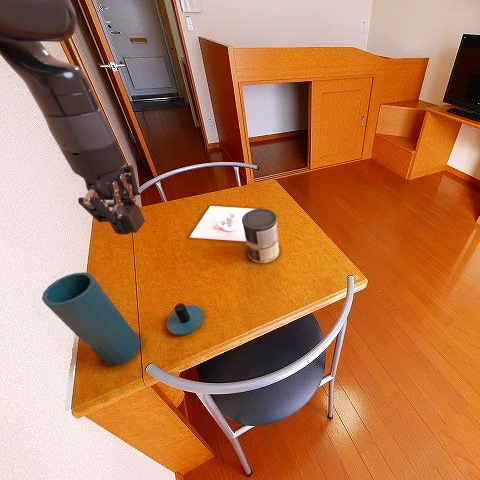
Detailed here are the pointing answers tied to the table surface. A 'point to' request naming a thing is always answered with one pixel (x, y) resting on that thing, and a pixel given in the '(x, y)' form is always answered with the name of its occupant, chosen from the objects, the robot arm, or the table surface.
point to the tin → (92, 317)
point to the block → (132, 217)
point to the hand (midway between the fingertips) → (130, 226)
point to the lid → (184, 319)
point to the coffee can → (261, 235)
